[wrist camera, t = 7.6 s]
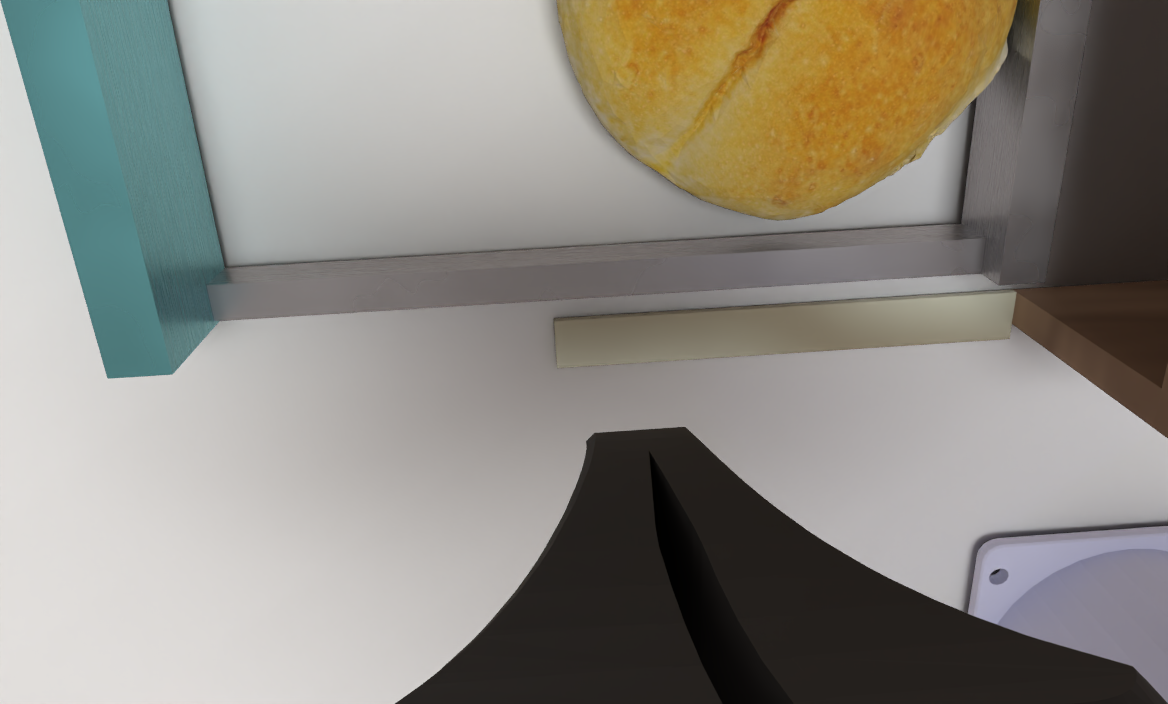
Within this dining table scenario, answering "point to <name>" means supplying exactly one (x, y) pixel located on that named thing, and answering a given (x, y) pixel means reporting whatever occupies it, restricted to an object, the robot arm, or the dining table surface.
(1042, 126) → the drawer
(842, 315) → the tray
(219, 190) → the dining table surface
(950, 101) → the bread roll
